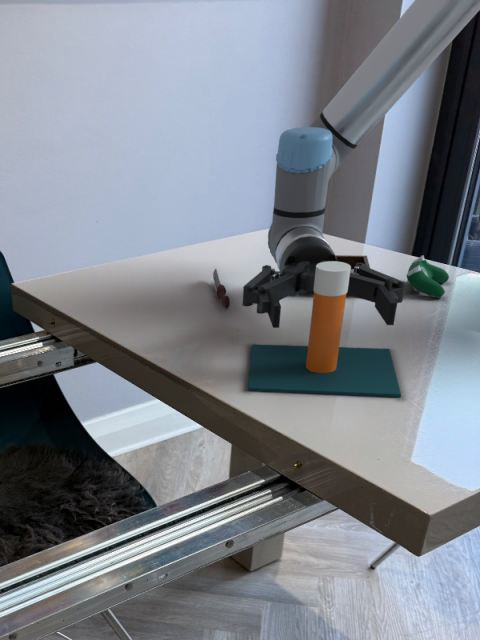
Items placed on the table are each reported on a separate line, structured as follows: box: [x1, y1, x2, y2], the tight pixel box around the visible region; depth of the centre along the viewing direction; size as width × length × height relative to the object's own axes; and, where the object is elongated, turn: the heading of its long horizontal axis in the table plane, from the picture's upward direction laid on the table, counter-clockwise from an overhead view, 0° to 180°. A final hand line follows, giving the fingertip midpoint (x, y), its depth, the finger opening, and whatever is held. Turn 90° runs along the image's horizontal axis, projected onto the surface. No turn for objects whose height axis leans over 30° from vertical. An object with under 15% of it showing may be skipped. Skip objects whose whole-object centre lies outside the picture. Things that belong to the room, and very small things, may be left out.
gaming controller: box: [406, 254, 450, 299], centre depth 123 cm, size 9×4×6 cm
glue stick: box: [306, 261, 351, 373], centre depth 97 cm, size 4×4×13 cm
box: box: [335, 254, 371, 297], centre depth 127 cm, size 10×10×3 cm
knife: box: [212, 268, 231, 310], centre depth 125 cm, size 18×2×3 cm, turn 179°
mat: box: [247, 343, 402, 398], centre depth 101 cm, size 18×14×1 cm
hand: (334, 315), depth 93 cm, fingers open, 13 cm apart
